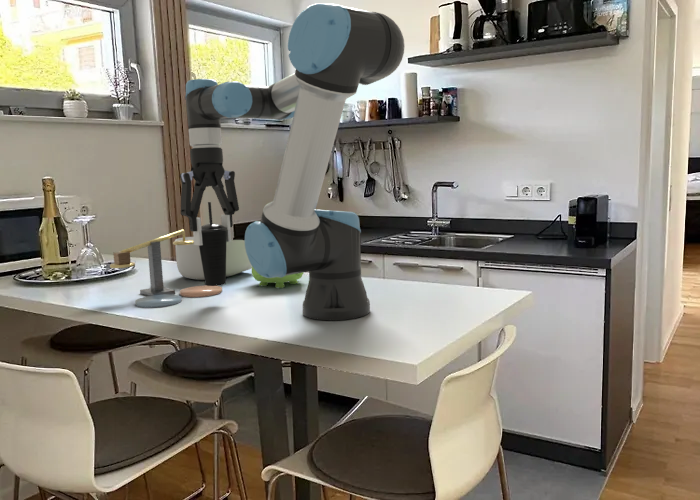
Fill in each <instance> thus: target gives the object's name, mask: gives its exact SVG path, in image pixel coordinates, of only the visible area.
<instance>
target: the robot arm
mask: <svg viewBox="0 0 700 500" xmlns="http://www.w3.org/2000/svg"><path fill="white" fill-rule="evenodd" d="M287 51H289V54H288V58H289V61H290V63H291V65H292V66H293V68H295V70H294V73H292V74H290V75H288V76H286V77H284V78H282V79H280V80H279V81H277V82H275V83H273V84H270V85H254V84H253V85H252V84H244V83H243V82H240V81H236V80H235V81H225V82H221V83H220V84H219V83H218V82H217V81H216V80H215V79H212V78H211V79H210V78H196V79H189V80H187V82H186V84H185V97H184V98H185V103H186V104H185V105H186V116H187V127H188V139H189V146H190V147H192V148H190V150H189V155H190V156H189V158H190V164H191V169H190V171H187V172H181V173H180V174H179V178H180V182H181V191H180V192H181V194H180V215H181V216H184V217H187V218H188V220H189V222H188V223H189V231H190V232H192V233H193V236H192V237H194V245H203V243H202V233H201V226H202V219H201V217H198V214H199V212H200V208H201V203H202V200H203V196H204V193H205V191H206V188H207V187H211V188H212V190H213V191H214V193H215V195H216V197H217V200H218V202H219V203H218V204H219V205H220V208H221V209H222V212H223V214H220V219H221V225H223V226H224V227H227V228H228V230H227V238H226V242H231V240H232V233H231V228H233V225H234V224H233V215H235V213H236V212H239V210H240V207H239V206H240V205H239V201H238V200H239V199H238V195H237V189H236V184H235V177H236V173H235V171H234V170H225V168H224V165H223V164H224V163H223V162H224V155H223V153H224V152H223V148H222V147H221V146H222V145H223V139H222V137H223V136H222V126H221V124H222V123H221V120H224V119H225V120H226V119H246V120H247V119H251V120H252V119H253V120H276V121H282V120H290V119H291V120H292V121H291V125H290V129H289V132H288V137H287V142H286V147H285V149H284V150H285V151H284V154H283V158H282V163H281V167H280V171H279V175H278V180H277V184H276V187H275V192H274V196H273V199H272V201H270V202H268V203H267V204H265V205H264V207H263V210H262V214H261V218H260V221H258V220H256V221H254V222H251V223H250V224H249V225H248V226H247V227H246V230H245V233H244V240H245V249H246V253H247V256H248V259H249V261H250V263H251V265H252V267H253V268H254V269H255V271H256V272H257V273H258V274H260V275H261V276H263V277H266V278H273V277H284V276H287V275H292V274H298V273H303V272H304V273H307V272H308V275H309V278H308V283H307V287H306V292H305V294H304V296H305V297H304V300H303V301H302V315H303V316H304V317H306V318H309V319H313V320H320V321H345V320H353V319H358V318H361V317H365V316H367V315H368V314H369V313H371V312H370V311H371V303H370V302H371V301H370V299H369V297H368V295H367V290H366V287H365V285H364V282H363V278H362V257H361V256H362V255H361V254H362V252H361V251H362V248H361V247H362V245H361V234H362V229H361V227H360V226H361V225H360V217H359V216H358V214H357V213H355V212H353V211H343V210H330V209H329V210H327V209H326V210H325V209H316V208H317V205H318V203H319V198H320V194H321V191H322V187H323V185H324V184H323V183H324V180H325V176H326V173H327V170H328V166H329V161H330V159H331V155H332V150H333V148H334V147H333V146H334V144H335V140H336V138H337V137H336V136H337V133H338V129H339V126H340V122H341V118H342V116H343V111H344V107H345V103H346V100H347V99H348V98H351V97H352V96H355V94H357V91H358V88H359V85H362V86H367V85H371V84H374V83H376V82H378V81H381V80H382V79H385V78H387V77H389V76H390V75H392V74H393V73H394V72H395V71H397V69H398V67H399V66H400V65H401V63H402V61H403V58H404V54H405V39H404V36H403V32H402V31H401V28H400V26H399V24H397V23H396V22H395V21H394V20H393V19H392V18H391V17H389V16H387V15H386V14H383V13H381V12H376V11H369V10H365V9H358V8H354V7H349V6H346V5H341V4H337V3H322V2H319V3H314V4H310V5H309V6H307V7H306V8H305V9H304V10H302V11H301V12H299V14H298V15H297V17H296V19H294V22H293V23H292V26H291V28H290V31H289V35H288V41H287ZM193 179H194V181H195V182H194V184H193V185H194V186H193V189H194V190H193V193H192V181H193ZM222 179H224V183H223V181H222ZM224 186H225V188H224ZM192 194H193V195H192ZM304 273H303V274H304Z"/></svg>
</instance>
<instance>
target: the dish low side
mask: <svg viewBox="0 0 700 500" xmlns="http://www.w3.org/2000/svg"><path fill="white" fill-rule="evenodd" d="M182 297H183V296H181V295H180V294H164V295H153V296H143V297H141V298H137V299H136V300H135V305H136V306H135V307H140V308H145V309H146V308H148V309H149V308H163V307H169V306H174V305H177V304H179V303H181V302H182V301H183V300H182V299H183V298H182Z"/></svg>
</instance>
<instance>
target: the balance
mask: <svg viewBox="0 0 700 500" xmlns="http://www.w3.org/2000/svg"><path fill="white" fill-rule="evenodd" d="M185 232H186V231H185V230H184V229H183V228H182V229H179V230H177V231H174V232H171V233H169V234H166V235H162V236H159V237H156V238H153V239H151V240H148V241H145V242H142V243H140V244H139V243H138V244H137V245H133V246H130V247H128V248H125V249H121V250H120V251H115V252H114V251H113V263H111V264H110V265H109V267H110V269H125V268H126V269H127V268H132V267H133V268H134V267H135V266H136V262H134V261H131V253H132V252H135V251H138V250H141V249H143V248H146V247H147V254H148V267H149V270H148V271H149V280H150V281H149V282H150V287H149V288H145V289H140V290H139V293H140V294H141V295H144V296H145V297H147V296H153V295H164V294H172V295H176V290H174V289H171V288H168V287H164V278H163V264H162V263H163V261H162V251H161V250H162V248H161V242H164V241H167V240H169V239H173V238H175V237H178V236H180V235H182V238H183V240H180V241H175V240H174V241H173V242H172V245H173V246H175V245H190V244H194V240H185V237H186V233H185Z"/></svg>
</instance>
